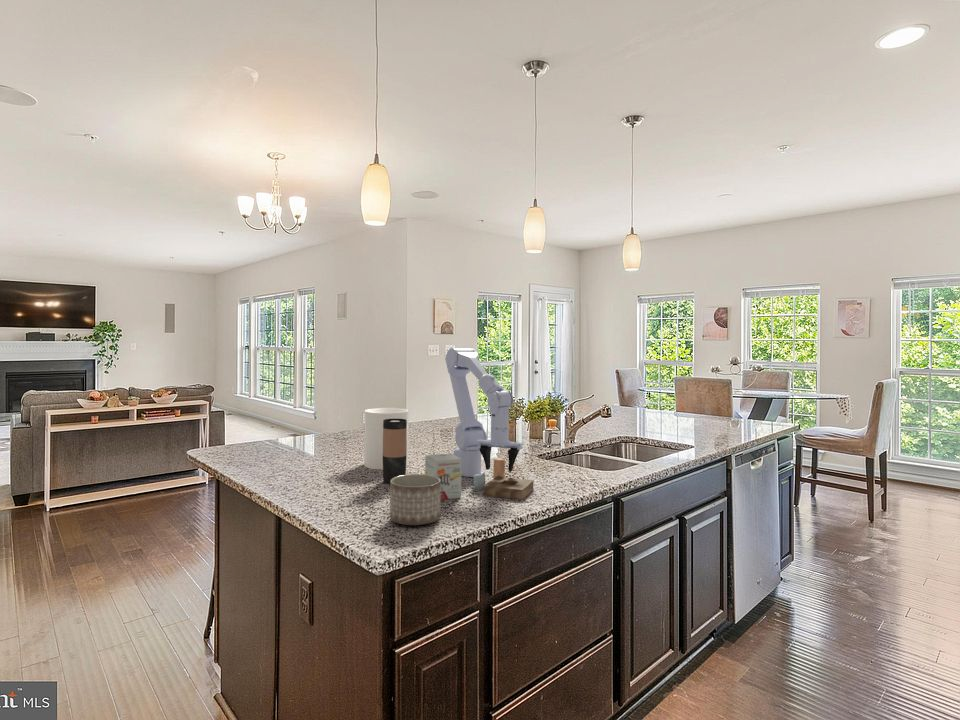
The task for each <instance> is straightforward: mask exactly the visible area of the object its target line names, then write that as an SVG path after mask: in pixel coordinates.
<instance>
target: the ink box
mask: <svg viewBox="0 0 960 720" xmlns="http://www.w3.org/2000/svg"><path fill="white" fill-rule="evenodd" d="M424 458H425V459H424V460H425V463H424V466H425V467H424V474H425V475H432V476H436V477H438V478H440V480H441V495H440V501H444V500H452V499H459V498H462V476H461V474H462V459H461V458H459V457H457V456H455V455H453V453H437V454H435V453H434V454H425V457H424Z"/></svg>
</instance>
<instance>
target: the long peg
mask: <svg viewBox="0 0 960 720" xmlns="http://www.w3.org/2000/svg"><path fill="white" fill-rule="evenodd" d="M505 467H506V459H505V458H501V457H499V458H498V457H497V458H494V459H493V478H492V479H494V478H495V477H497V476H499V477H506V476H505V472H506V471H505V469H506V468H505Z"/></svg>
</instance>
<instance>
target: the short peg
mask: <svg viewBox="0 0 960 720" xmlns="http://www.w3.org/2000/svg"><path fill="white" fill-rule="evenodd" d="M485 484H486V474H476V475H474V477H473V489H474V490H476V491H477V490H479V491H481V490H483V491H484V485H485Z"/></svg>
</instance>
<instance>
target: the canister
mask: <svg viewBox="0 0 960 720" xmlns="http://www.w3.org/2000/svg"><path fill="white" fill-rule="evenodd" d="M409 417H410V414H409V409H407V408H398V407H379V408H378V407H376V408H368V409H365V410H364V432H363V433H364V436H363V437H364V442H363V443H364V445H363V446H364V453H363V456H364V459H363V463H364V464H363V466H364V467H365V468H367V469H371V470H382V471H383V420H385V419H405V420H406V421H407V455H406V467H407V466H408V465H409V428H410V427H409V421H410V419H409Z"/></svg>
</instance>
